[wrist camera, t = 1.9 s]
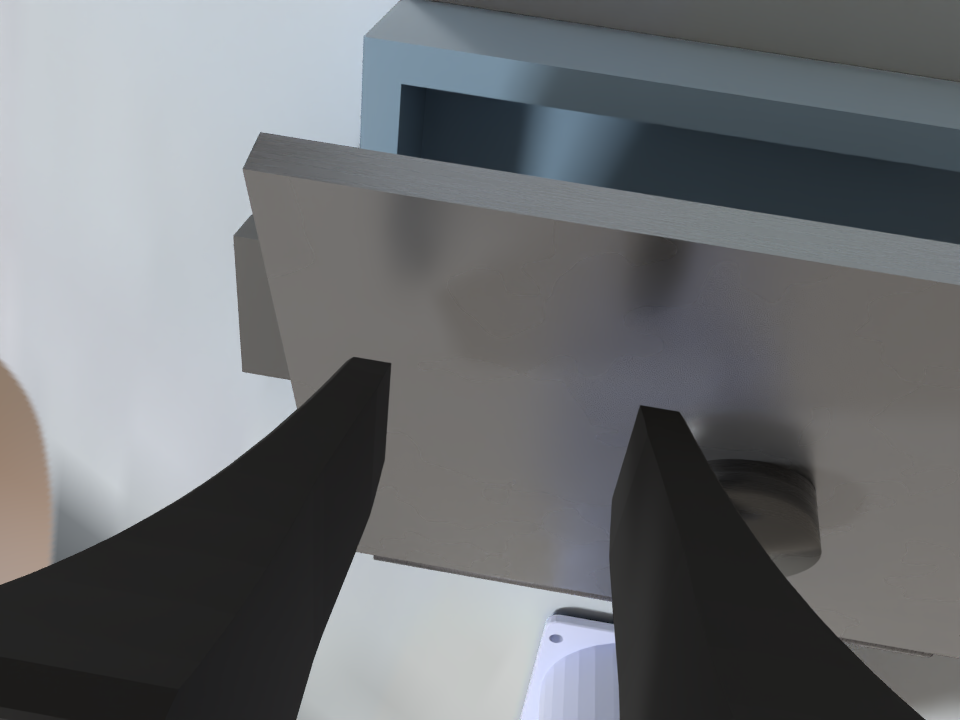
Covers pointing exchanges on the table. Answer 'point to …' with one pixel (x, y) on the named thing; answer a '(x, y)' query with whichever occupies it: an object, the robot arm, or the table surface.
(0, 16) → the table surface
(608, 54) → the grey slotted box
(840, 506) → the cabinet door
